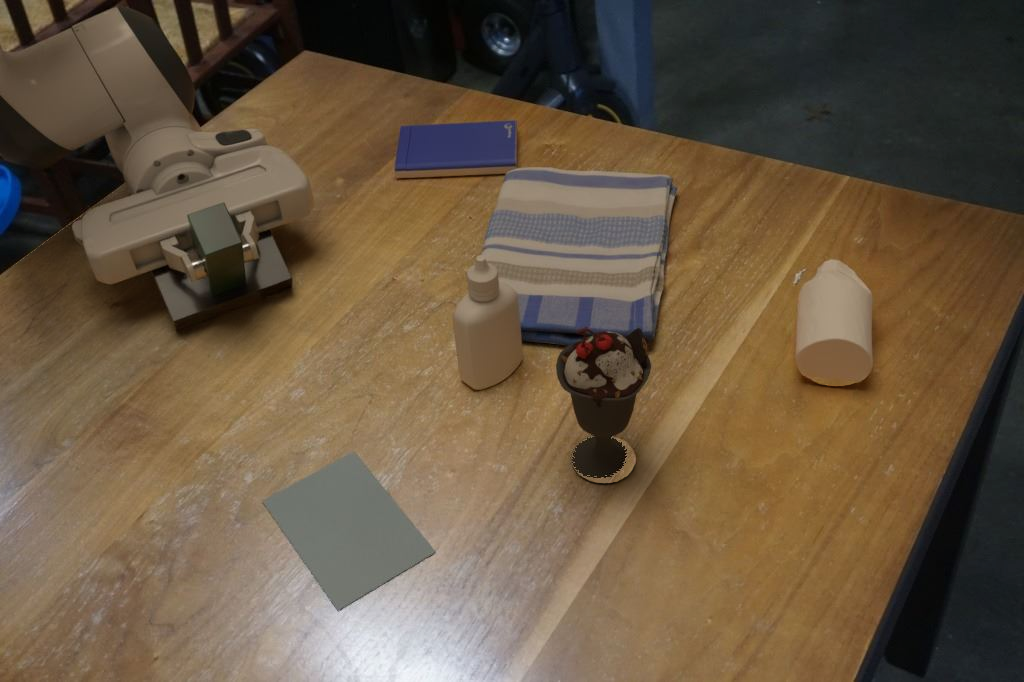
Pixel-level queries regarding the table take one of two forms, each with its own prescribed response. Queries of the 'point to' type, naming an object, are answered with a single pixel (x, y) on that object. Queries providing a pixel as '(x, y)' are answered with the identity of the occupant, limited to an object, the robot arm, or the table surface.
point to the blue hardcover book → (456, 149)
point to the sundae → (603, 394)
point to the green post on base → (221, 271)
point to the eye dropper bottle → (487, 328)
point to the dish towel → (581, 250)
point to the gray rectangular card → (347, 529)
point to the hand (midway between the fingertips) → (224, 263)
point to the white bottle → (834, 325)
